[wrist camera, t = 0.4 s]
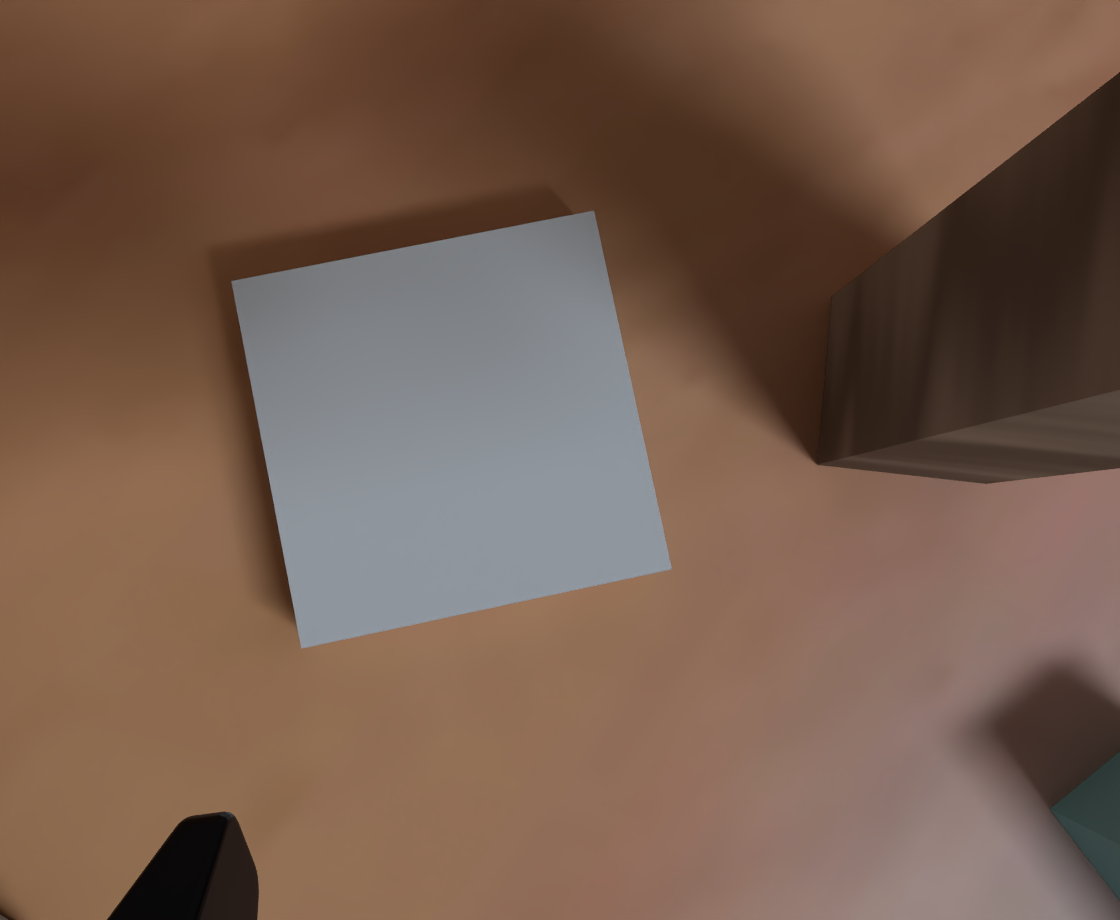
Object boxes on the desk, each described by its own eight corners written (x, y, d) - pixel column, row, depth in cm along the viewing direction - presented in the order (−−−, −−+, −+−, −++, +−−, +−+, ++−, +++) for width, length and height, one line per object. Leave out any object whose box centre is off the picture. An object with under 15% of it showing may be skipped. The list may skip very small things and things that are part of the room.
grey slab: (659, 566, 23) (671, 568, 21) (320, 638, 23) (300, 648, 21) (587, 237, 24) (594, 210, 22) (255, 302, 23) (231, 281, 21)
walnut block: (986, 483, 23) (1567, 416, 10) (817, 464, 23) (1191, 372, 10) (998, 315, 24) (1576, 46, 11) (831, 296, 24) (1212, 0, 11)
